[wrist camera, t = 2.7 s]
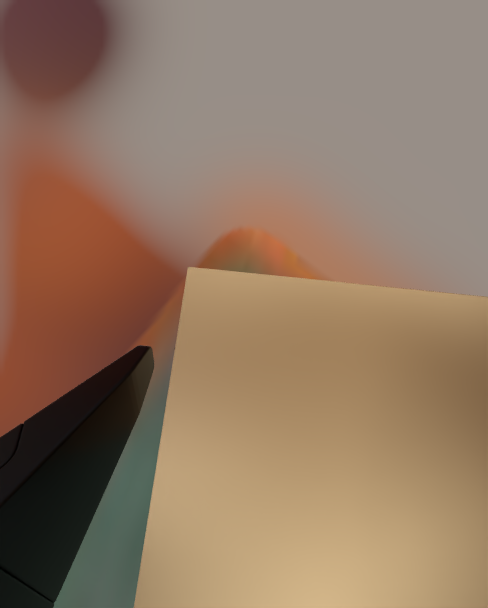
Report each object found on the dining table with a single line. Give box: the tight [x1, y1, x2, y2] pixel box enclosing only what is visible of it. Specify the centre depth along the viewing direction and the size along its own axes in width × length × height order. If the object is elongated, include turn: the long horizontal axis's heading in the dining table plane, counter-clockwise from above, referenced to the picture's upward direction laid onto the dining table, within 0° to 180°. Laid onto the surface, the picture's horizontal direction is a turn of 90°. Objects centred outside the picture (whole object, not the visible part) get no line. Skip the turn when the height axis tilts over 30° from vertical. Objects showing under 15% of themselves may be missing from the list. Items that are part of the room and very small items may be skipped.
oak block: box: [134, 267, 488, 608], centre depth 9 cm, size 5×5×12 cm
